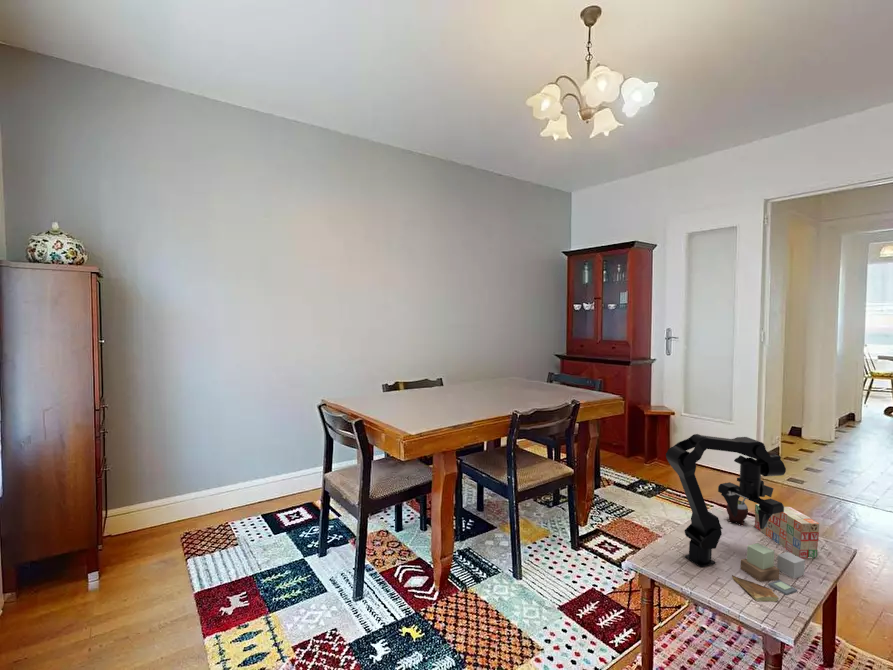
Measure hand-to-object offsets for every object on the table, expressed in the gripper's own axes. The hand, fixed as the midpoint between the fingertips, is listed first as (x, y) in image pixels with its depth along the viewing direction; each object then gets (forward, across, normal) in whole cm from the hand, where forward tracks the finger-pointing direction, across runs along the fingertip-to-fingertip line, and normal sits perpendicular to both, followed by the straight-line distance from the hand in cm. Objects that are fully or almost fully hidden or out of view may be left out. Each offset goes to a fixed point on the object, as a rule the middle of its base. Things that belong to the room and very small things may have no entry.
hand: (748, 522), depth 148 cm
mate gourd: (+12, +19, -21) cm, 31 cm away
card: (+12, -15, +6) cm, 20 cm away
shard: (+13, -14, +16) cm, 25 cm away
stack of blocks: (+13, +3, -23) cm, 26 cm away
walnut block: (+12, -8, +5) cm, 16 cm away
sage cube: (+9, -8, +5) cm, 13 cm away
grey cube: (+12, -10, -5) cm, 17 cm away
